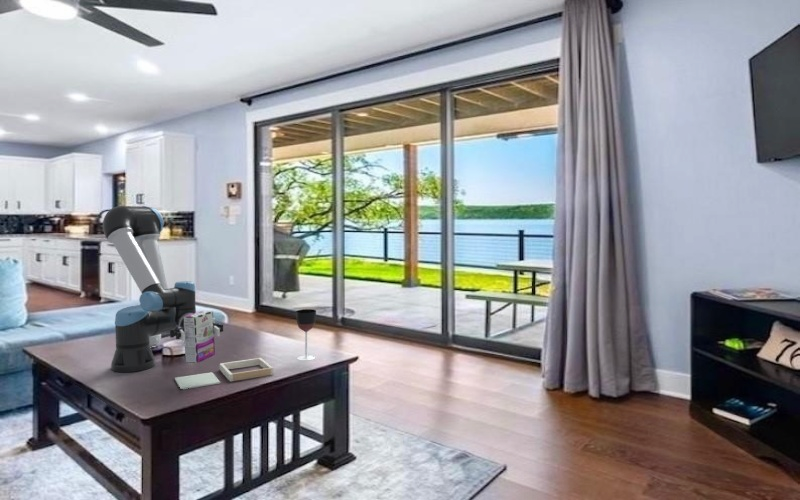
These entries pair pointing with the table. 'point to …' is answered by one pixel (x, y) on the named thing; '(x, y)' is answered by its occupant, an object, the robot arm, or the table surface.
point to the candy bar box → (199, 336)
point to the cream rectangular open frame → (247, 374)
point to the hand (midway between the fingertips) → (201, 334)
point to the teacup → (155, 340)
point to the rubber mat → (197, 380)
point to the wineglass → (306, 326)
